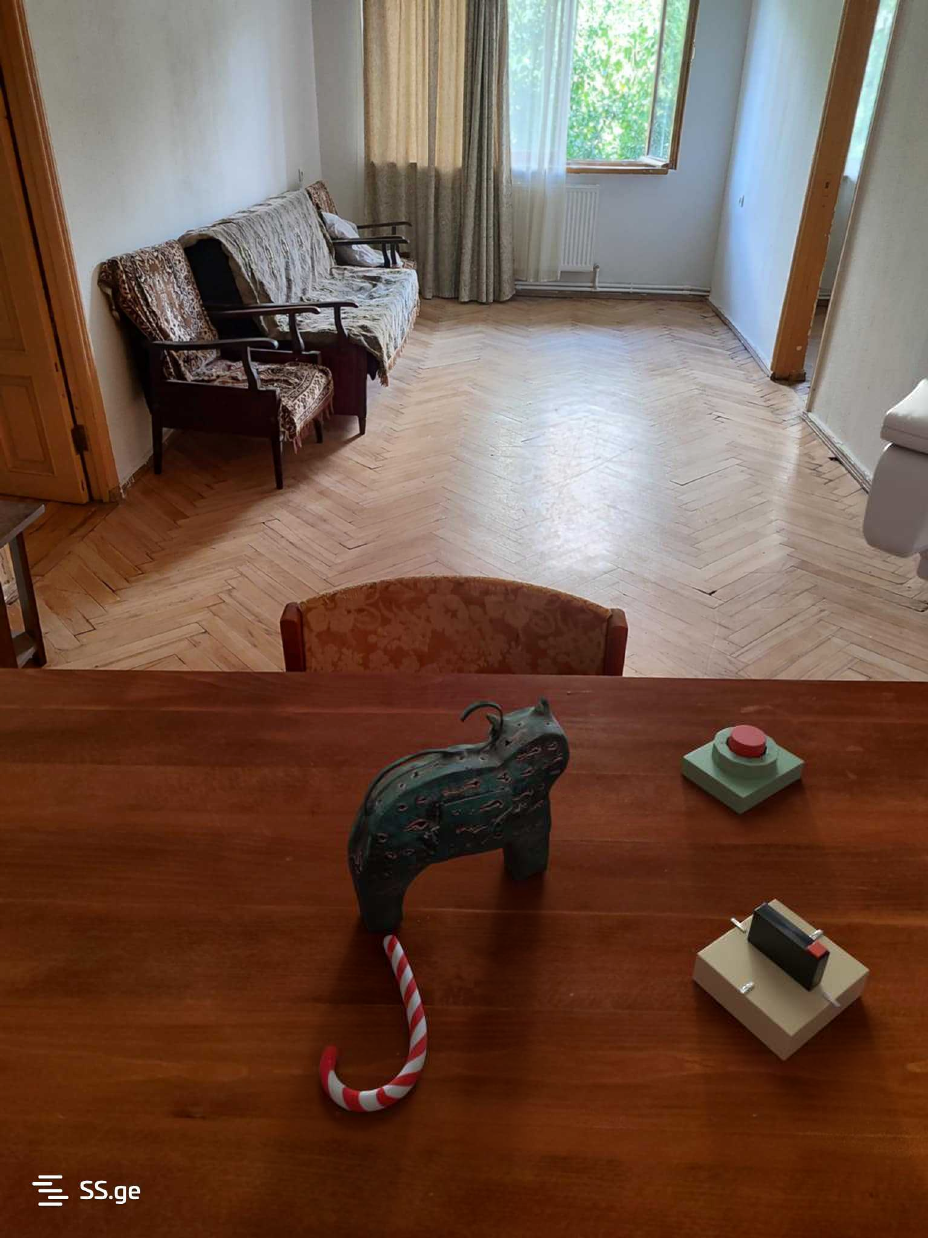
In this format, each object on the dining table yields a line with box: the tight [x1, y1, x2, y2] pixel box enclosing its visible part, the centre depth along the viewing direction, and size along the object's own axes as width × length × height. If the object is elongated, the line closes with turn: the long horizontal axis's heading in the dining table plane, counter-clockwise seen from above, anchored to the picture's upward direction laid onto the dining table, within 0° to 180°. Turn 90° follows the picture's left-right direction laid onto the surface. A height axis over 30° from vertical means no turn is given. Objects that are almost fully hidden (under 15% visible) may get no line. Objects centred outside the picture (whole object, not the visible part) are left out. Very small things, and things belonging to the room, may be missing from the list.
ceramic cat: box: [347, 695, 571, 934], centre depth 75 cm, size 20×6×20 cm, turn 115°
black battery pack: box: [747, 902, 830, 992], centre depth 69 cm, size 6×2×4 cm, turn 35°
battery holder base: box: [692, 898, 870, 1062], centre depth 71 cm, size 10×10×3 cm
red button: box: [728, 724, 767, 759], centre depth 93 cm, size 4×4×2 cm
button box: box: [680, 726, 805, 815], centre depth 94 cm, size 10×8×4 cm
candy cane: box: [318, 934, 428, 1113], centre depth 68 cm, size 8×1×15 cm
